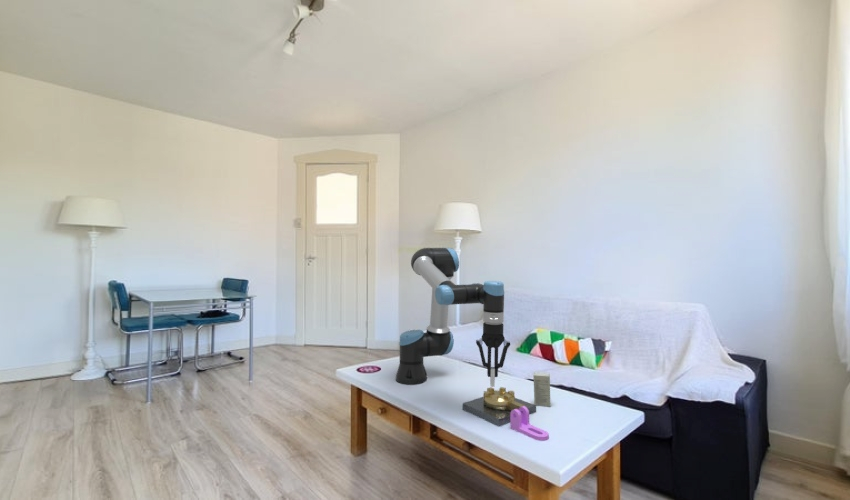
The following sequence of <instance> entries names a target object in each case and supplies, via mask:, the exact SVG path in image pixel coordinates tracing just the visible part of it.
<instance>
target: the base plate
mask: <svg viewBox="0 0 850 500" xmlns="http://www.w3.org/2000/svg"><path fill="white" fill-rule="evenodd" d="M515 401H516V402H518V403H520V404H523V405H525V406H527V408H528V410H529V416H530V415H533V414H536V413H537V405H534V404H533V403H529V402H528V401H525V400H522V399H519V398H516V397H515ZM462 410H463V411H465V412H467V413H469V414H471V415H473V416H476V417H478V418H480V419H482V420H484V421H486V422H489V423H491V424H492V425H495V426H498V427H502V426H504V425H506V424H510V413H511V410H509V409H505V410H499V409H493V408H489V407H487V406H485V405H484V400H483V396H480V397H478V398H474V399H472V400H468V401H465V402H462Z"/></svg>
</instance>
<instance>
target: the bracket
mask: <svg viewBox="0 0 850 500" xmlns="http://www.w3.org/2000/svg"><path fill="white" fill-rule="evenodd" d="M509 424H510V429H512V430H514V431H516V432H517V433H520V434H523V435H524V436H527V437H529V438H531V439H533V440H536V441H540V442H541V441H542V442H543V441H548V440H549V438H550V436H549V435H550V433H549V432H548V431H546V430H544V429H542V428H539V427H537V426H534V425H533V424H531V423H530V415H529V410H528V408H527V407H525V406H523V407H520V408H519V409H514V410H512V411H511V413H510V422H509Z"/></svg>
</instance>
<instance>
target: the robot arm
mask: <svg viewBox="0 0 850 500" xmlns="http://www.w3.org/2000/svg"><path fill="white" fill-rule="evenodd" d="M410 265H411V269H412V270H413V272H414V273H415V274H417V275H418V276H421V278H423V279H424V280H425V282H426V283H427V284H428V285H429V286H430V287H431V288H432V289H431V303H430V317H429V320H430V321H429V325H427V326H426V331H425V332H424V330H422V329H409V330H406V331H404V332H402V333H401V334H400V335H399V342H398V346H399V364H398V367H397V371H396V374H395V381H396V382H397V383H400V384H402V385H403V384H404V385H419V384H423V383H425V382H427V379H428V374H427V371H426V367H425V364H424V357H426V358H427V357H437V356H445V355H449V354H450V353H451V352H452V350H453V347H454V341H455V340H454V334H453V333H452V331H451V329H450V328H449V326H448V317H449V316H448V315H449V306H452V305H453V306H454V305H469V304H470V305H471V304H472V305H473V304H481V305H483V310H482V311H483V313H482V315H483V316H482V317H483V318H482V319H483V323H482V334H481V338H479V339H476V340H475V343H476V346H477V347H478V350H479V354H480V359H481V362H482V366H483V367H484V368H486V369H487V370H486V374H487V375H486V376H487V377H488V378H490V379H489V381H490V386H489V387H492V388H495V381H496V378H498V377H499V376H498V375H499V368H503V366H504V364H505V360H506V355H507V353H508V350H509V347H510V346H511V342H510V341H509V340H507V339H505V335H504V322H505V321H504V319H505V318H504V317H505V316H504V309H505V308H504V307H505V306H504V305H505V286H504V282H502V281H497V280H486V281H484V282H483V284H482V283H479V282H478V283H475V282H474V283H471V284H470V283H469V284H455V283H454V282H453V281H451V279H453V278H454V276H455V274H454V273H456V272H458V270H459V268H460V260H459V255H458V253H457V251H456V250H455V249H453V248H449V247H424V248H420V249H418V250H417V251H415V252H414V253H413V254H412V257H411V259H410ZM483 343H484V345H485V346H486V347H487V362H486V358H485V353H484V348H483V346H482V345H483ZM502 344H503V348H502V352H501V355H500V360H499V348H500V347H501V345H502ZM492 348H494V355H493V357H494V363H493V364H494V365H493V366H492Z"/></svg>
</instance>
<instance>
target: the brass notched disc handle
mask: <svg viewBox="0 0 850 500" xmlns="http://www.w3.org/2000/svg"><path fill="white" fill-rule="evenodd" d="M506 390H507V388H506V387H502V386H500V387H499V388H498V390H495V387H491V386H489V387H487V388H486V390H484V391H483V396H482V397H483V400H484V405H485V406H487V407H489V408H493V409H499V410H505V409H509V410H511V411H512V410H514V409H519V408H520V407H523V406H525V405H523V404H520V403H518V402H516V401H515V398H516V395H515V391H514V390H508V391H506ZM525 407H527V406H525Z"/></svg>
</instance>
